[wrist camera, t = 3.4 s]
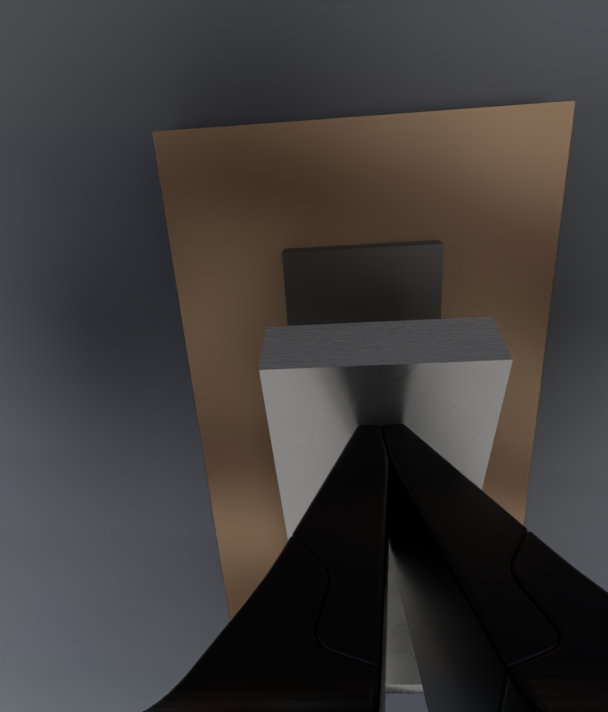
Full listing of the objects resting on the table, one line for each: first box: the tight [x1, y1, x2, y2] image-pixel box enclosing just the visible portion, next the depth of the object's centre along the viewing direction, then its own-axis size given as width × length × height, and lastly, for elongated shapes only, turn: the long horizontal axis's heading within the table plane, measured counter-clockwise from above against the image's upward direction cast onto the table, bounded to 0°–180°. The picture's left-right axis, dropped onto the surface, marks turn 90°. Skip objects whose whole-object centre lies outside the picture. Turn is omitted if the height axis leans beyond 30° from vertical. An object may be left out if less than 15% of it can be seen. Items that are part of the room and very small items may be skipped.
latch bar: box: [259, 316, 513, 693], centre depth 13 cm, size 15×4×1 cm, turn 4°
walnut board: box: [152, 101, 575, 621], centre depth 15 cm, size 20×10×3 cm, turn 4°
